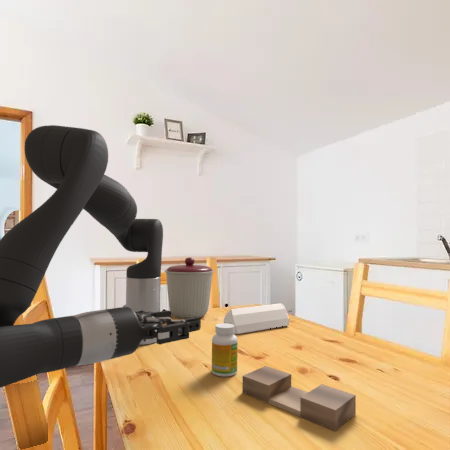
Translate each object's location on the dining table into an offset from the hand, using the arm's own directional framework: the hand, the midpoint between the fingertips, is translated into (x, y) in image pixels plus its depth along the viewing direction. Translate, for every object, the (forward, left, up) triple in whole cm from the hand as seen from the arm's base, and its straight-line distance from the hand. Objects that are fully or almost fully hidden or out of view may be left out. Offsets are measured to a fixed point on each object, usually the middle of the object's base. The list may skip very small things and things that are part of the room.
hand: (184, 319), depth 65 cm
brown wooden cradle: (+20, 0, -13) cm, 24 cm away
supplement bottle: (+5, +10, -13) cm, 17 cm away
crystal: (+7, +48, -13) cm, 50 cm away
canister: (-20, +58, -13) cm, 62 cm away
